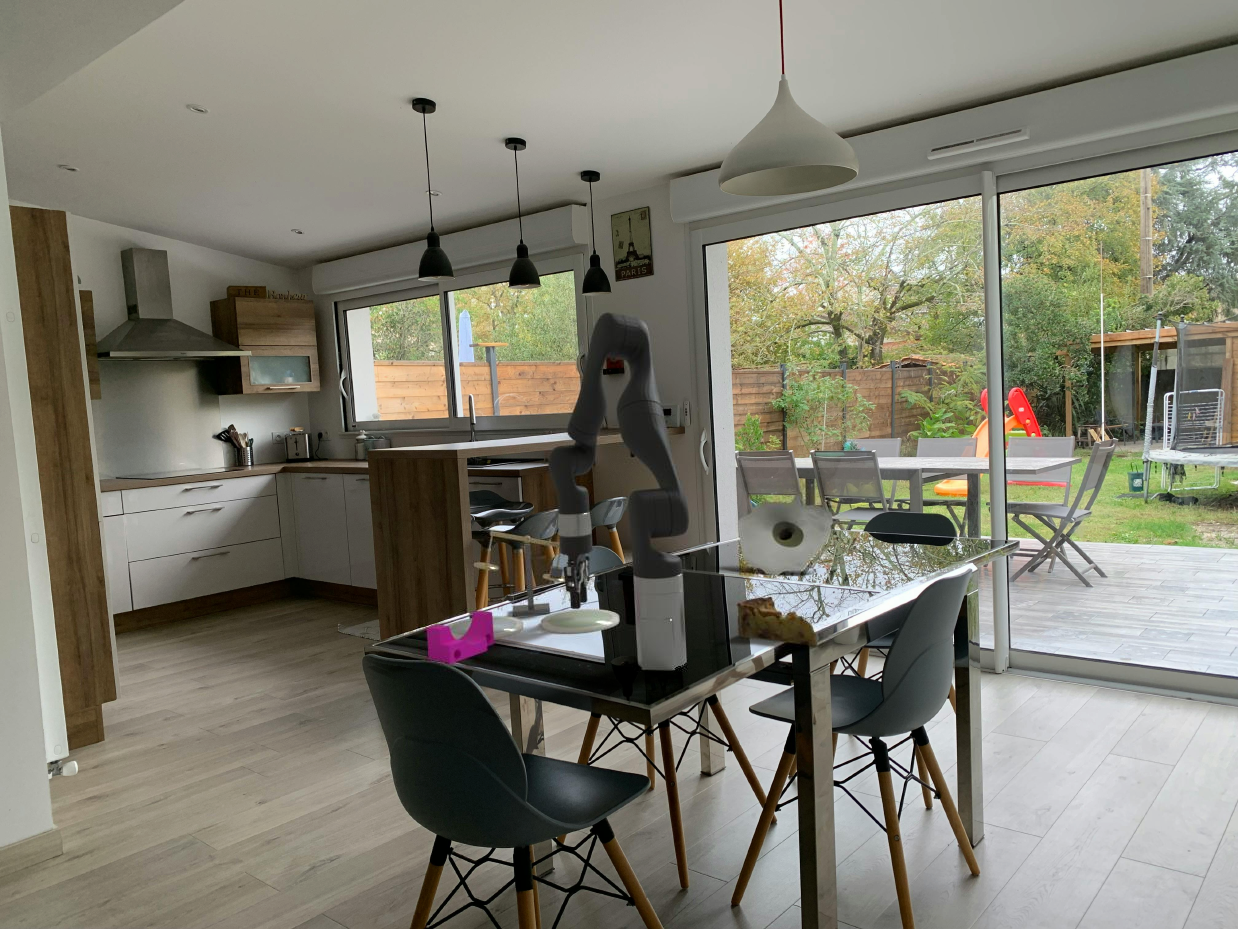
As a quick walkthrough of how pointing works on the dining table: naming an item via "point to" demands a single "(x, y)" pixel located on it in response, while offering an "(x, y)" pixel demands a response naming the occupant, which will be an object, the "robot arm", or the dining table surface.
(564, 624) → the sage dish
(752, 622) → the pie slice
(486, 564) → the balance beam
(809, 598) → the dining table surface
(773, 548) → the flower planter
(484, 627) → the toy block
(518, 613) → the balance stand
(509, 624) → the grey dish
